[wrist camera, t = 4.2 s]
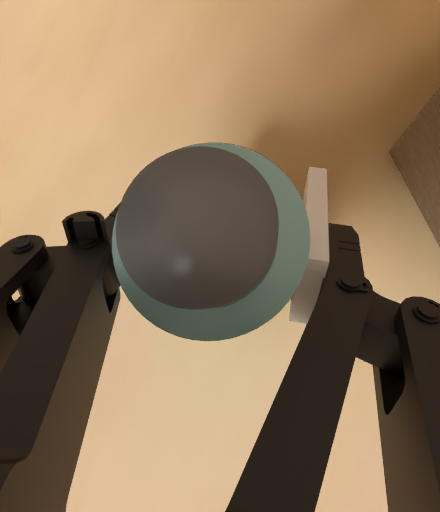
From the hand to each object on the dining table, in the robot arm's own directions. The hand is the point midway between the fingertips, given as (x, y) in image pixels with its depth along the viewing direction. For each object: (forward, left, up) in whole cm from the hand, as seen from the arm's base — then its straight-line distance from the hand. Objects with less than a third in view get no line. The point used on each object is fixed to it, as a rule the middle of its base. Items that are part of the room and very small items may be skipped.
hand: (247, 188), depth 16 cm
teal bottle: (+3, -2, -4) cm, 5 cm away
